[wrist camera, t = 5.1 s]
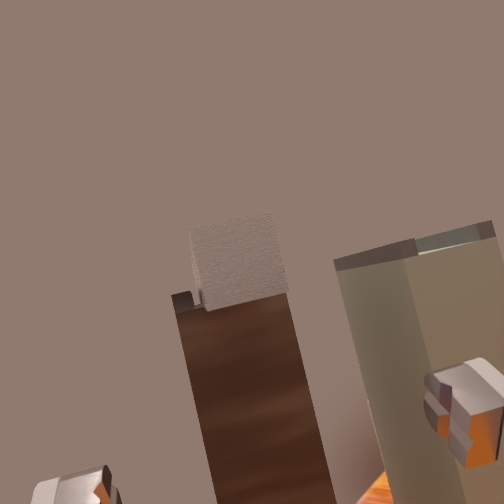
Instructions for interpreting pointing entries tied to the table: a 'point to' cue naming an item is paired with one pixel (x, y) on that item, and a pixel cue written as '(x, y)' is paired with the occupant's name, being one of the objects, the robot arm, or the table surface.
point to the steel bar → (237, 261)
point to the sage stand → (425, 350)
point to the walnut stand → (253, 402)
